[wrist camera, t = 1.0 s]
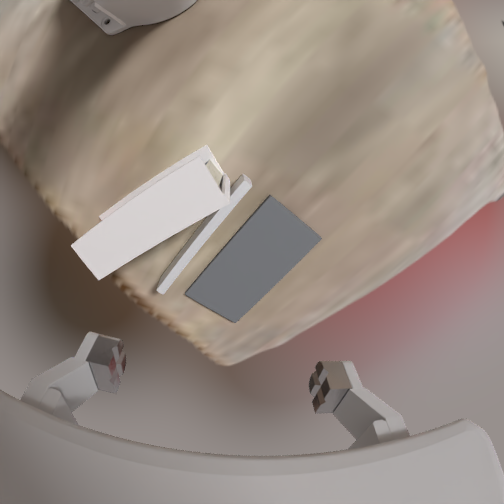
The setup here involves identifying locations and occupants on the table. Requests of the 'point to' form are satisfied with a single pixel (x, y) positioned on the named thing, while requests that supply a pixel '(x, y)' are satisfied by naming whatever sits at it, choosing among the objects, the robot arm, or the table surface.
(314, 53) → the table surface
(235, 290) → the mat
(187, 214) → the white boxy piece
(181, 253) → the low wall
